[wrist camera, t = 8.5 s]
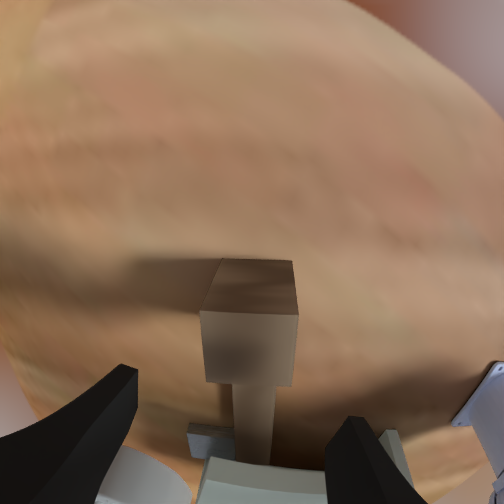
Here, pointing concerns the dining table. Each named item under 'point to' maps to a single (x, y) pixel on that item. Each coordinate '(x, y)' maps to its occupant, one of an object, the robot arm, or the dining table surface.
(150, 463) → the lumpy-topped squat cylinder
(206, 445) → the grey square block
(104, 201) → the dining table surface
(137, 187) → the dining table surface
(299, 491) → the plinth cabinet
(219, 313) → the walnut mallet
